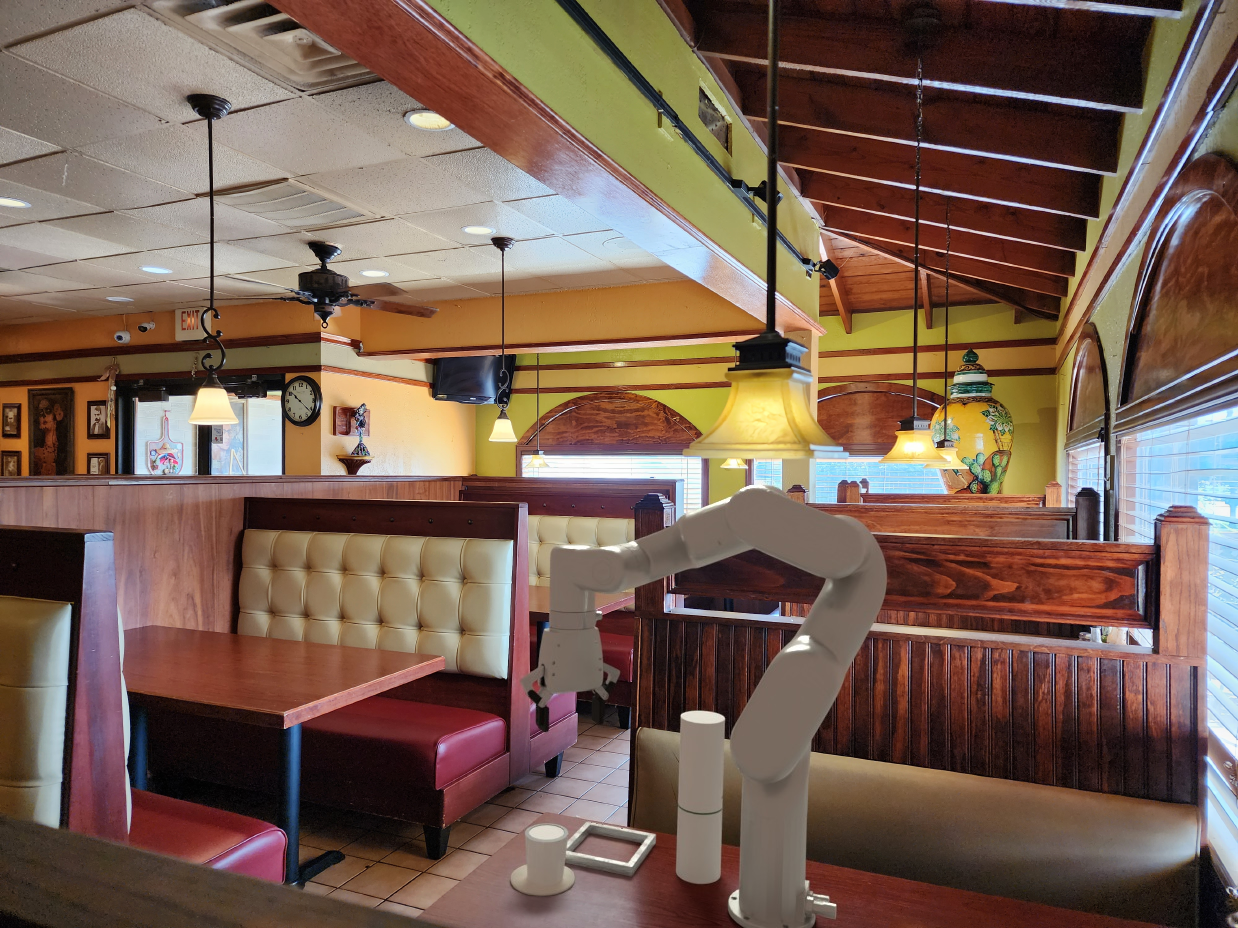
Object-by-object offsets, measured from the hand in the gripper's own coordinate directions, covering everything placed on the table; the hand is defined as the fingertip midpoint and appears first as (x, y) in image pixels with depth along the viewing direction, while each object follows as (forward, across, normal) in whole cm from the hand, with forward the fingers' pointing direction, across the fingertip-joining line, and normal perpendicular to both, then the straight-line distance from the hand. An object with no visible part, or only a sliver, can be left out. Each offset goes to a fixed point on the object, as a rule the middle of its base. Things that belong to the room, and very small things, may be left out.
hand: (570, 726), depth 131 cm
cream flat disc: (+23, +5, +2) cm, 23 cm away
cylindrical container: (+23, -18, +10) cm, 31 cm away
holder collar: (+23, -8, -2) cm, 24 cm away
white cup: (+22, +5, +2) cm, 23 cm away
